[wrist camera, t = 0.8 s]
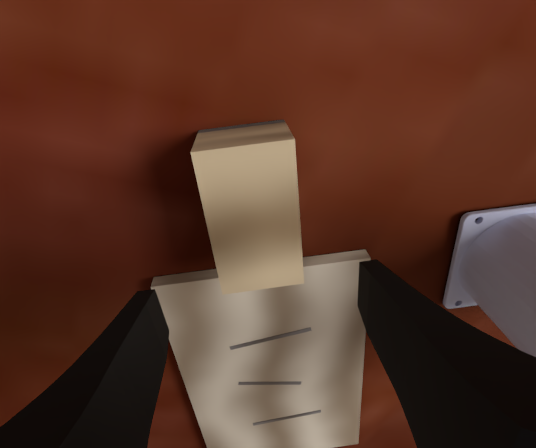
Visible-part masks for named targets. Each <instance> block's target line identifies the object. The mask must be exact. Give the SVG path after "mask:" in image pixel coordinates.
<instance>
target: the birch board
mask: <svg viewBox="0 0 536 448" xmlns="http://www.w3.org/2000/svg"><path fill="white" fill-rule="evenodd" d="M369 260H371V258H370V256H369V254H368V253H367V251H366V249H363V250H356V251H348V252H341V253H333V254H325V255H318V256H310V257H303V272H304V284H297V285H289V286H282V287H275V288H268V289H260V290H253V291H246V292H239V293H231V294H224V295H222V290H221V286H220V282H219V277H218V273H217V269H211V270H204V271H196V272H188V273H181V274H173V275H166V276H158V277H154V278H153V281H152V284H151V290H152V289H155V291H156V293H157V296H158V299H159V302H160V305H161V308H162V311H163V314H164V317H165V320H166V322H167V325H168V328H169V341H170V344H171V347H172V350H173V352H174V355H175V358H176V361H177V364H178V367H179V370H180V372H181V375H182V378H183V381H184V384H185V387H186V389H187V392H188V395H189V398H190V401H191V404H192V406H193V409H194V412H195V415H196V418H197V421H198V424H199V426H200V429H201V432H202V435H203V438H204V441H205V443H206V446H207V448H333V447H340V446H347V445H353V444H358V440H359V425H360V410H361V395H362V380H363V365H364V350H365V335H366V329H365V326H364V323H363V321H362V318H361V315H360V312H359V309H358V306H357V302H358V280H359V262H362V261H369Z"/></svg>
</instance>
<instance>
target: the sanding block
mask: <svg viewBox="0 0 536 448" xmlns="http://www.w3.org/2000/svg"><path fill="white" fill-rule="evenodd" d="M190 153H191V158H192V162H193V166H194V171H195V175H196V180H197V184H198V189H199V193H200V197H201V202H202V206H203V211H204V215H205V220H206V224H207V228H208V233H209V237H210V242H211V246H212V251H213V255H214V259H215V264H216V268H217V273H218V277H219V282H220V286H221V290H222V295H224V294H231V293H239V292H246V291H253V290H260V289H268V288H275V287H282V286H289V285H297V284H304V272H303V256H302V241H301V226H300V211H299V196H298V180H297V165H296V150H295V139H294V137H293V135H292V133H291V131H290V130H289V128H288V126H287V124H286V123H285V121H284V120H276V121H268V122H260V123H253V124H245V125H237V126H229V127H221V128H213V129H205V130H199V131H198V133H197V136H196V139H195V141H194V144H193V147H192V149H191V152H190Z"/></svg>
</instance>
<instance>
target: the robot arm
mask: <svg viewBox="0 0 536 448" xmlns="http://www.w3.org/2000/svg"><path fill="white" fill-rule="evenodd" d="M478 217H479V218H478ZM477 218H478V219H477ZM476 219H477V220H476ZM475 220H476V221H475ZM443 305H444V306H445V307H446V308H447V309H452V308H460V307H467V306H474V305H479V306H480V308H481V309H482V310H483V311H484V312H485V313H486V314H487V315H488V317H489V318H490V319H491V320H492V321H493V322H494V323H495V324H496V325H497V327H498V328H499V329H500V330H501V331H502V332H503V333H504V334H505V335H506V337H507V338H508V339H509V340H510V341H511V342H512V343H513V344H514V346H515V347H516V348H517V349H516V348H514V347H512V346H510V345H508V344H506V343H504V342H502V341H500V340H498V339H496V338H494V337H492V336H490V335H488V334H486V333H484V332H482V331H480V330H479V329H477V328H475V327H473V326H471V325H470V324H468V323H466V322H464V321H463V320H461V319H459V318H458V317H456V316H454V315H453V314H451V313H449V312H448V311H446V310H445V309H443V308H442V307H440V306H439V305H437V304H436V303H434V302H433V301H431V300H430V299H428V298H427V297H425V296H424V295H422V294H421V293H420V292H418V291H417V290H416V289H414V288H413V287H411V286H410V285H409V284H407V283H406V282H405V281H404V280H402V279H401V278H400V277H398V276H397V275H396V274H394V273H393V272H392V271H391V270H389V269H388V268H387V267H386V266H384V265H383V264H382V263H380V262H379V261H378V260H369V261H362V262H359V280H358V302H357V306H358V309H359V312H360V315H361V318H362V321H363V323H364V326H365V329H366V332H367V334H368V336H369V338H370V340H371V342H372V344H373V346H374V348H375V350H376V352H377V354H378V356H379V358H380V360H381V362H382V364H383V367H384V369H385V371H386V373H387V375H388V377H389V379H390V381H391V383H392V385H393V387H394V389H395V391H396V393H397V396H398V398H399V400H400V403H401V405H402V408H403V410H404V413H405V416H406V418H407V421H408V424H409V426H410V429H411V432H412V434H413V437H414V440H415V443H416V445H417V448H536V203H535V204H527V205H520V206H512V207H504V208H497V209H489V210H481V211H473V212H468V213H465V214H464V215H463V216H462V217H461V219H460V223H459V228H458V233H457V237H456V242H455V247H454V251H453V256H452V261H451V265H450V270H449V275H448V279H447V284H446V289H445V293H444V298H443ZM168 341H169V328H168V325H167V322H166V320H165V317H164V314H163V311H162V308H161V305H160V302H159V299H158V296H157V293H156V291H155V289H152V290H145V291H137V293H136V294H135V295H134V296H133V297H132V298H131V299H130V301H129V302H128V303H127V304H126V305H125V307H124V308H123V309H122V310H121V311H120V313H119V314H118V315H117V316H116V317H115V319H114V320H113V321H112V322H111V323H110V324H109V326H108V327H107V328H106V329H105V330H104V331H103V332H102V334H101V335H100V336H99V337H98V338H97V339H96V340H95V341H94V342H93V343H92V345H91V346H90V347H89V348H88V349H87V350H86V351H85V352H84V353H83V354H82V355H81V356H80V357H79V358H78V359H77V360H76V362H75V363H74V364H73V365H72V366H71V367H70V368H69V369H68V370H66V371H65V372H64V373H63V374H62V375H61V376H60V377H59V378H58V379H57V380H56V381H55V382H54V383H53V384H51V385H50V386H49V387H48V388H47V389H46V390H45V391H44V392H43V393H42V394H40V395H39V396H38V397H37V398H36V399H34V400H33V401H32V402H31V403H30V404H28V405H27V406H26V407H25V408H24V409H22V410H21V411H20V412H19V413H17V414H16V415H15V416H14V417H13V418H11V419H10V420H9V421H8V422H7V423H5V424H4V425H3V426H1V427H0V448H147V445H148V438H149V433H150V428H151V423H152V419H153V414H154V410H155V406H156V402H157V398H158V393H159V389H160V385H161V381H162V377H163V372H164V368H165V363H166V359H167V350H168Z"/></svg>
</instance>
